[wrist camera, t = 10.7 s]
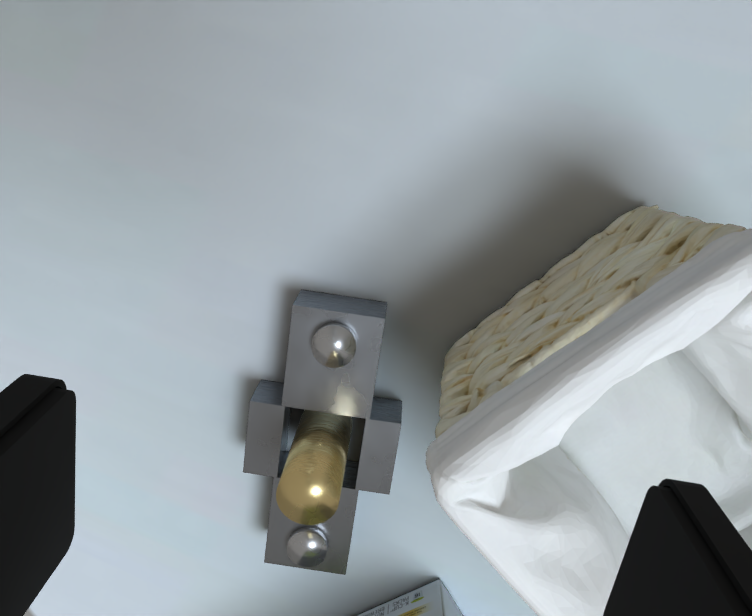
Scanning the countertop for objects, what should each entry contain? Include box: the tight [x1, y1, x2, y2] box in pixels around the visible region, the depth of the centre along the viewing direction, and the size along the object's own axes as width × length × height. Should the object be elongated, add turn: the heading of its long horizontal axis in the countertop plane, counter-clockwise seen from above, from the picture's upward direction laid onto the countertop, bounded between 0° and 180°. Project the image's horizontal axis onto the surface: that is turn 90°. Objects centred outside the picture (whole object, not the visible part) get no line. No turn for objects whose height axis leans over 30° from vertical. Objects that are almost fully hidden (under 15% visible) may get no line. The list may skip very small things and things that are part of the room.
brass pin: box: [276, 410, 352, 525], centre depth 37 cm, size 3×3×8 cm
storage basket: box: [426, 205, 752, 616], centre depth 33 cm, size 24×16×15 cm
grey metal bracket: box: [243, 290, 402, 575], centre depth 39 cm, size 17×9×4 cm, turn 172°
